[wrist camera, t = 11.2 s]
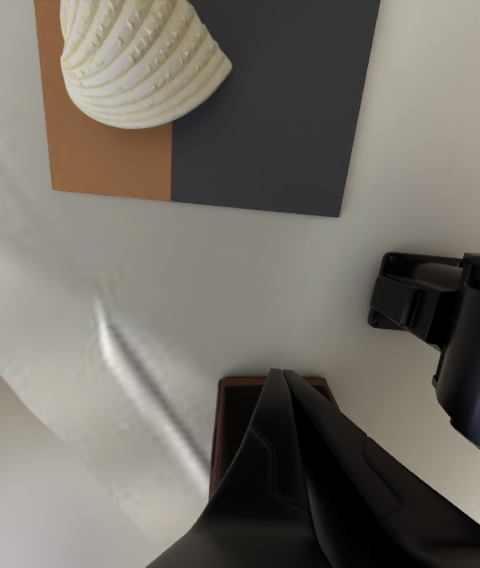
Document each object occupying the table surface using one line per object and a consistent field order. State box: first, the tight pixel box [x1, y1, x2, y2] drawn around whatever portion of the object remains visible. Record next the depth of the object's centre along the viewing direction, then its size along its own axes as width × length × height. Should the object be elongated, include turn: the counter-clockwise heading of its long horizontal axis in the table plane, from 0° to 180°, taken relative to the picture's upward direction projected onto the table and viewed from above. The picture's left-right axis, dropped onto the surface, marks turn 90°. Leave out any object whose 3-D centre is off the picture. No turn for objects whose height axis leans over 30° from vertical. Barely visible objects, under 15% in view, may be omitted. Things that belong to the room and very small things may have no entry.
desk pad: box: [34, 0, 380, 217], centre depth 17 cm, size 22×14×1 cm, turn 85°
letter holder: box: [208, 378, 340, 502], centre depth 18 cm, size 10×20×14 cm, turn 0°
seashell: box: [60, 0, 232, 129], centre depth 14 cm, size 8×8×8 cm
